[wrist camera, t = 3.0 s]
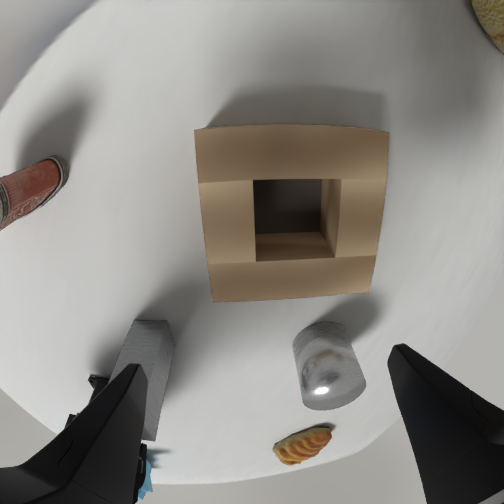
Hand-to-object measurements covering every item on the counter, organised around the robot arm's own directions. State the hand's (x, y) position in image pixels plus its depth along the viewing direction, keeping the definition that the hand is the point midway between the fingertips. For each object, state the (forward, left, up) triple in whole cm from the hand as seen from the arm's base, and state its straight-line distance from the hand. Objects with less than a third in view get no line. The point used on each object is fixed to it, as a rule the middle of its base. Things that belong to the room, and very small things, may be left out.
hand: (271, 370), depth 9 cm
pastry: (-34, -6, -12) cm, 37 cm away
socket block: (+2, -2, -12) cm, 12 cm away
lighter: (+5, +17, -12) cm, 22 cm away
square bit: (-9, +9, -12) cm, 18 cm away
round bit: (-11, -6, -12) cm, 17 cm away
